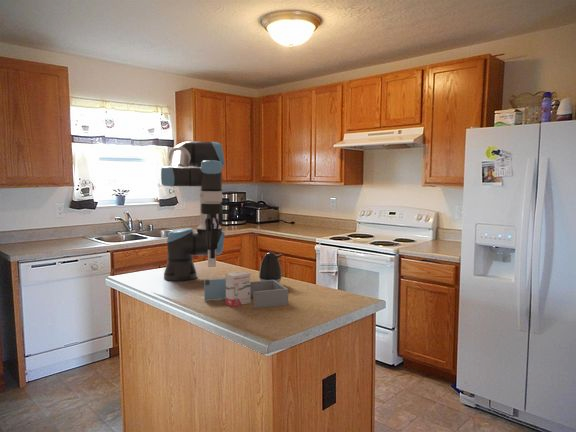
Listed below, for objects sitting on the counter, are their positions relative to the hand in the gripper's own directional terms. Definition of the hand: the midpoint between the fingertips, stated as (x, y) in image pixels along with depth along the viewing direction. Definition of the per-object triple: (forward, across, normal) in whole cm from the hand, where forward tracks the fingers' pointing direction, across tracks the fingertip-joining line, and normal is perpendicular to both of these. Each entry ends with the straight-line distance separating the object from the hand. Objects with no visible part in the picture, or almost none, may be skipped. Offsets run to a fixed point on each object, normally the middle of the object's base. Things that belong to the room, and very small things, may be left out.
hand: (211, 266), depth 156 cm
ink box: (+15, 0, +10) cm, 18 cm away
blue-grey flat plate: (+15, -8, +5) cm, 18 cm away
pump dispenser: (+15, -22, +31) cm, 41 cm away
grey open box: (+15, 0, +20) cm, 25 cm away
